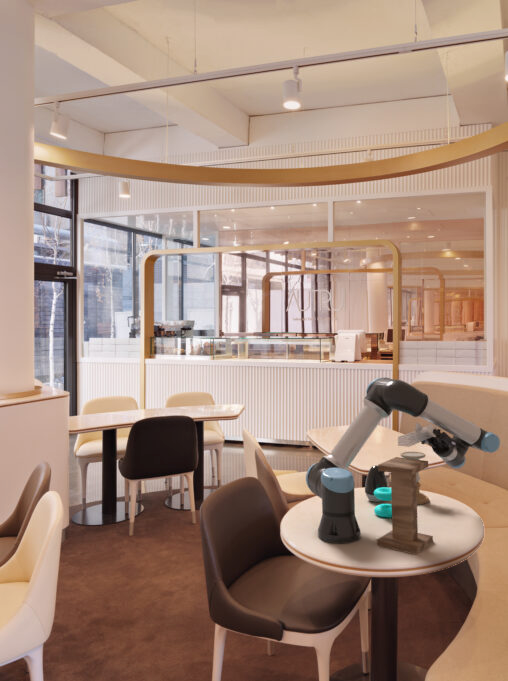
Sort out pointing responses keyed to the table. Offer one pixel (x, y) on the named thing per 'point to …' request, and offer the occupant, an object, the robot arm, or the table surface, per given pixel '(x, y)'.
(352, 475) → the robot arm
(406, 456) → the candle holder
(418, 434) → the grey block
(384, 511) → the donuts
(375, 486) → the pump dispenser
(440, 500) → the table surface
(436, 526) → the table surface
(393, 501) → the stand
